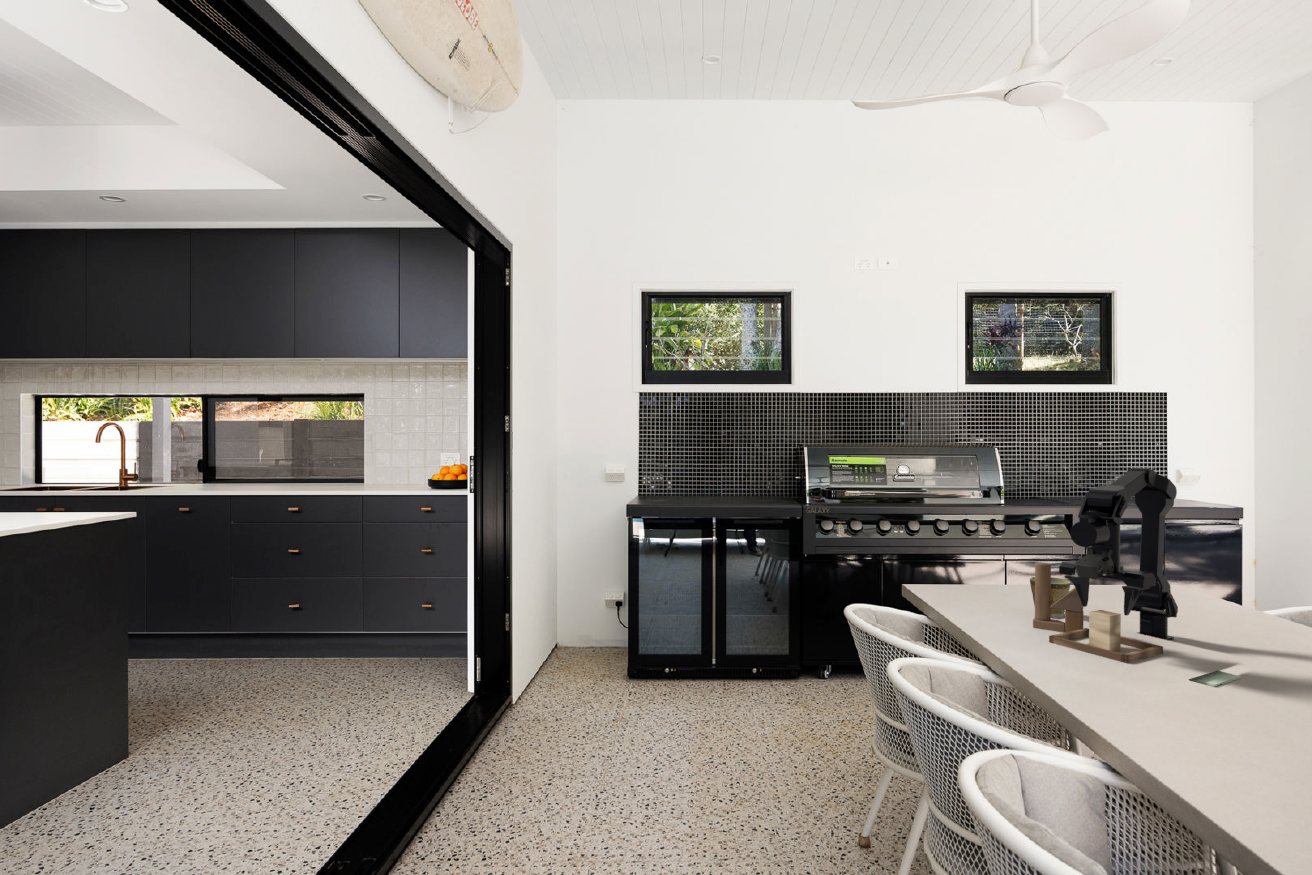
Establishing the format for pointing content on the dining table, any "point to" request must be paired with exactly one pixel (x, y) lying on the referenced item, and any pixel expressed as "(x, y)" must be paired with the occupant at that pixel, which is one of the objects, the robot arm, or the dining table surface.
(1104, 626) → the beech block
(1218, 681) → the green mat
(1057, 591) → the yellow green glass cup
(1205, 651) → the dining table surface
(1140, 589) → the robot arm
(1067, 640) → the wooden rectangular frame
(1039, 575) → the wooden block structure
